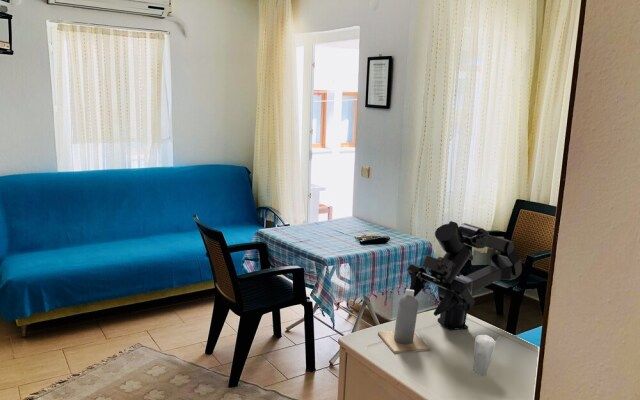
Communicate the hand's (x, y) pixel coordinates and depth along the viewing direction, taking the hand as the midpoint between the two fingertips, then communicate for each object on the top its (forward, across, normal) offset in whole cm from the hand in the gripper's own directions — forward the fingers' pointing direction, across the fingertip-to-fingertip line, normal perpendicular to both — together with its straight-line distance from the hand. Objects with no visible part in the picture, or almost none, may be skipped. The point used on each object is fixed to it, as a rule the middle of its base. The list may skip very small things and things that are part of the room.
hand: (420, 308), depth 132 cm
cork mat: (+10, 0, +2) cm, 10 cm away
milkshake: (+6, +20, +6) cm, 22 cm away
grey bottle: (+9, 0, +2) cm, 9 cm away
